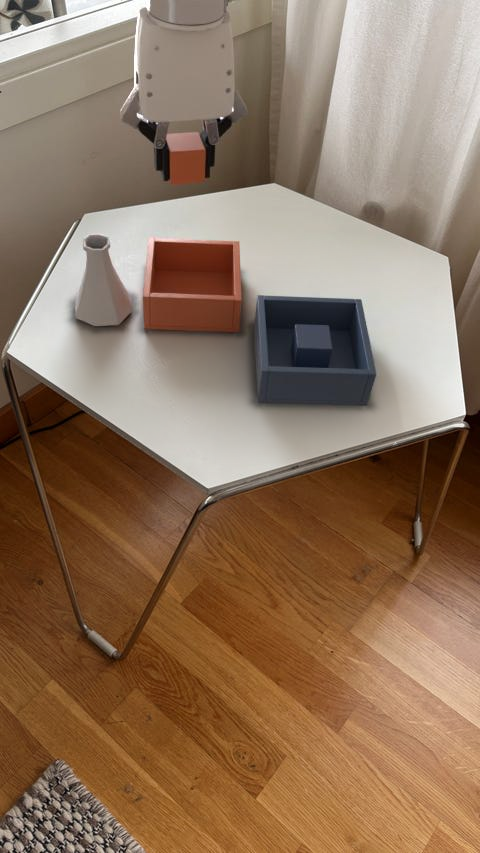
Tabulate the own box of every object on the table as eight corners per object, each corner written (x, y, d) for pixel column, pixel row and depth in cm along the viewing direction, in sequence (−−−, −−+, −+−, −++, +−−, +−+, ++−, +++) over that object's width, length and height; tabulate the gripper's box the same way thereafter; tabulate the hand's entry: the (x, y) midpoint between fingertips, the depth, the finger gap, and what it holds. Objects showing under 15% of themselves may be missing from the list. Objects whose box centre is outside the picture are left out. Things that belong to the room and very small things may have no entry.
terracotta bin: (144, 329, 87) (142, 296, 83) (149, 269, 94) (148, 237, 90) (238, 332, 87) (241, 300, 83) (236, 273, 95) (239, 241, 91)
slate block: (293, 372, 83) (297, 348, 80) (290, 348, 85) (294, 323, 82) (326, 373, 83) (332, 349, 80) (323, 349, 86) (329, 325, 82)
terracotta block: (164, 166, 83) (163, 133, 80) (197, 163, 84) (198, 131, 81) (170, 185, 81) (170, 152, 78) (204, 182, 81) (205, 149, 78)
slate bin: (257, 402, 80) (261, 371, 76) (253, 326, 88) (257, 294, 84) (367, 405, 81) (376, 374, 77) (353, 330, 89) (361, 298, 85)
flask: (124, 332, 86) (118, 265, 78) (66, 323, 86) (55, 255, 79) (139, 294, 91) (135, 228, 83) (83, 286, 91) (75, 219, 83)
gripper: (258, -17, 72) (245, 151, 86) (93, -14, 69) (107, 161, 83) (279, 13, 68) (262, 185, 82) (103, 18, 64) (116, 197, 78)
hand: (184, 171), depth 82 cm, fingers closed on terracotta block, 4 cm apart
